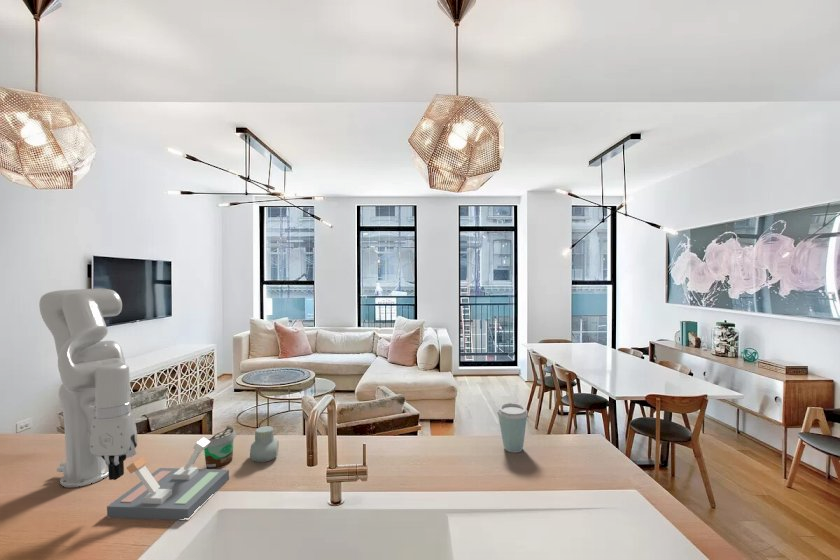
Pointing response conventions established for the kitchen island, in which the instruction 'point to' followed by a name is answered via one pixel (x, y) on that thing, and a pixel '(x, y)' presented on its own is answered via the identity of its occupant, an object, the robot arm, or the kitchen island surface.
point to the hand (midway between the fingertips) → (116, 477)
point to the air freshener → (264, 445)
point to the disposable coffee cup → (512, 425)
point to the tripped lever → (144, 474)
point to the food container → (220, 449)
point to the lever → (196, 452)
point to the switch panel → (169, 503)
